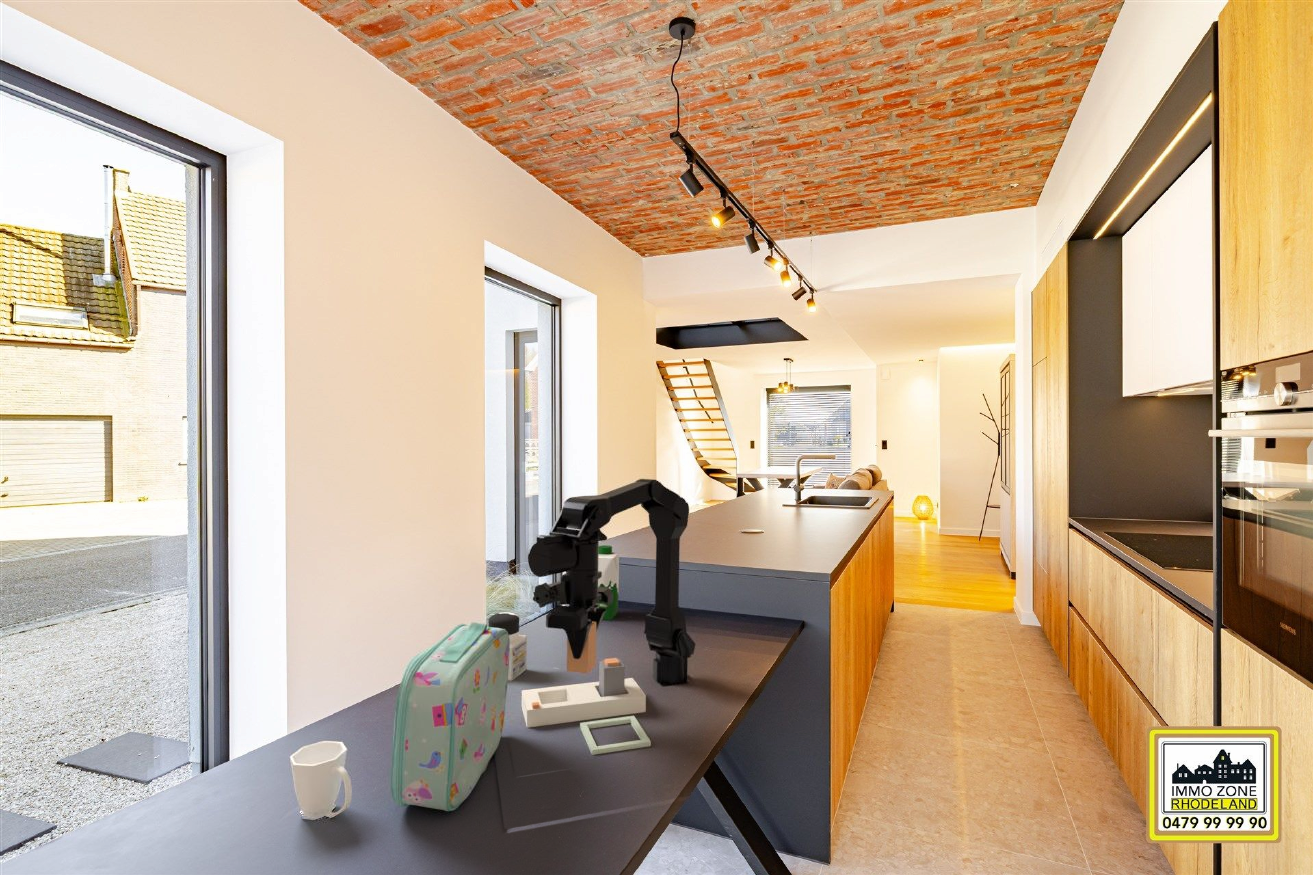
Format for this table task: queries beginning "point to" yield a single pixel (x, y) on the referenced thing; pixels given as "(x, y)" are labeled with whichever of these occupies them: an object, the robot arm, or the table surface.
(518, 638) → the container
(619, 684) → the twin plug
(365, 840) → the table surface
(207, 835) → the table surface
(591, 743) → the tray
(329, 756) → the cup
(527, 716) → the outlet strip
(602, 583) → the milk carton
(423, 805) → the lunch box
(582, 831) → the table surface
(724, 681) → the table surface
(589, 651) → the plug
